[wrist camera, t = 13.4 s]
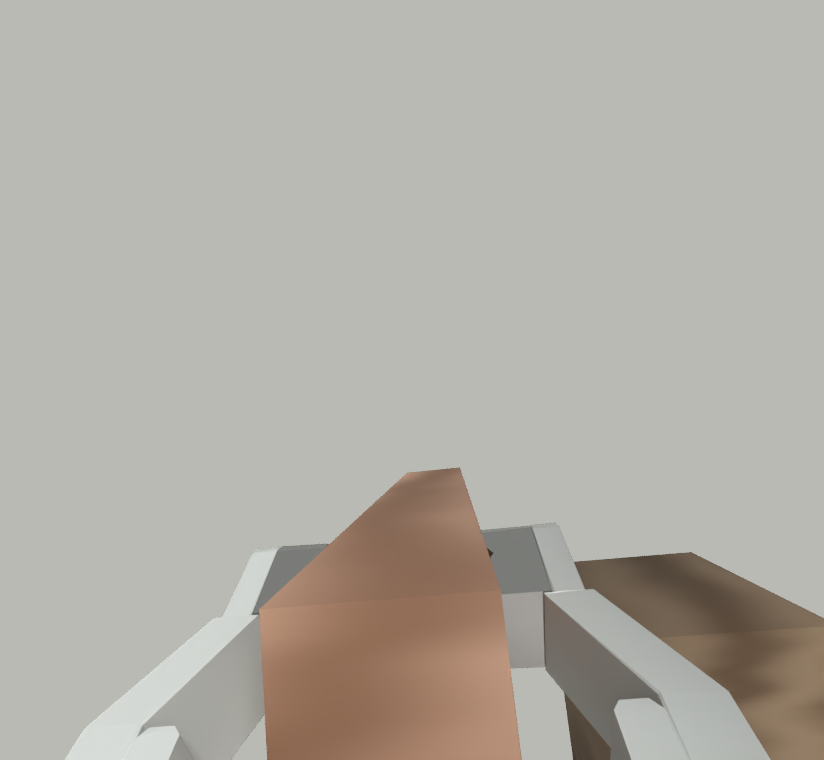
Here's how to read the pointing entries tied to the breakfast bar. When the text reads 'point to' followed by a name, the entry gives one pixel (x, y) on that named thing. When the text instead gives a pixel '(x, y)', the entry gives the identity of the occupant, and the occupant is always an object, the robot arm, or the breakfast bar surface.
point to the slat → (393, 638)
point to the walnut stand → (721, 645)
